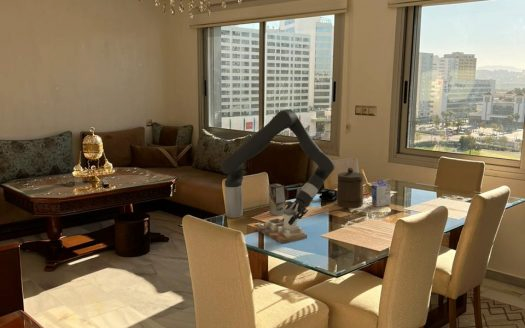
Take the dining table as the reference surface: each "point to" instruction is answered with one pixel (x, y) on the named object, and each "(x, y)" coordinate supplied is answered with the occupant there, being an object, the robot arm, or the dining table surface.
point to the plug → (287, 217)
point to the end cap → (328, 195)
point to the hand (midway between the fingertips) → (286, 222)
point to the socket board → (280, 231)
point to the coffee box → (277, 199)
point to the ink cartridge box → (381, 194)
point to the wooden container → (350, 189)
